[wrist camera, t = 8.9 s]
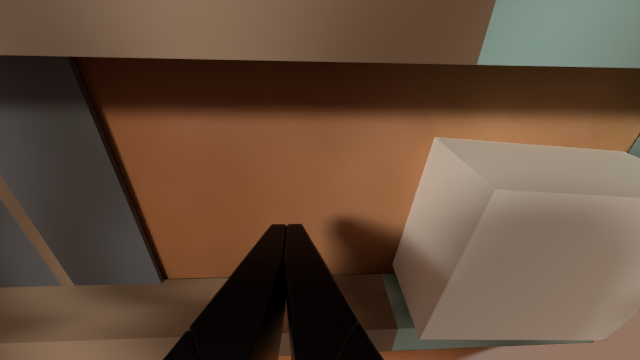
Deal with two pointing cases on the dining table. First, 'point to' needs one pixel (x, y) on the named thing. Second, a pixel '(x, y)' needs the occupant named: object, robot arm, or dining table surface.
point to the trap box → (220, 44)
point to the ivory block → (522, 242)
